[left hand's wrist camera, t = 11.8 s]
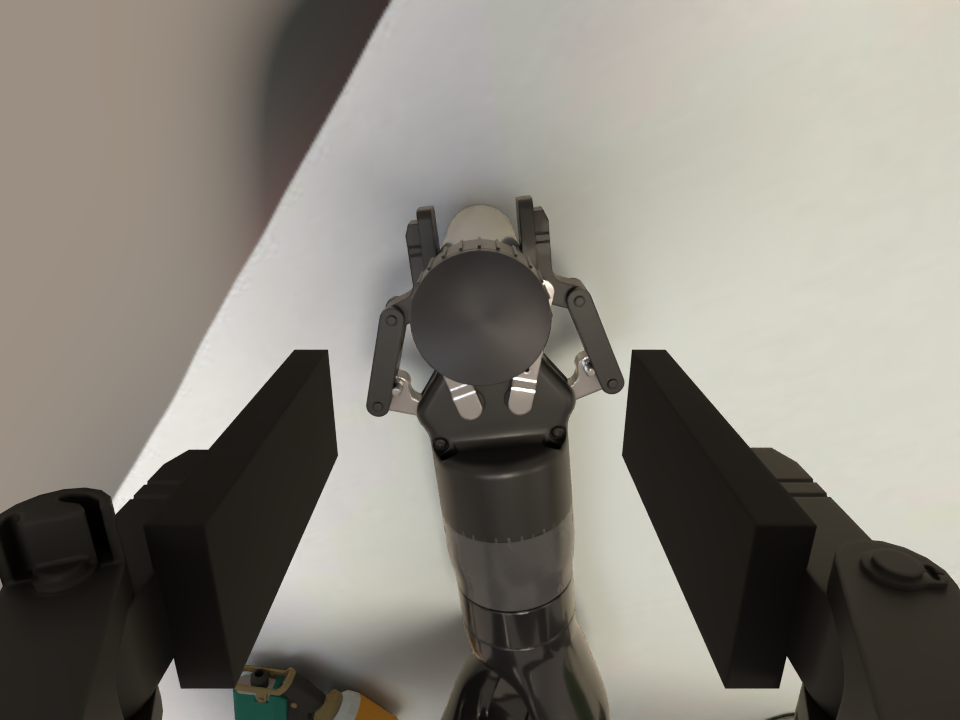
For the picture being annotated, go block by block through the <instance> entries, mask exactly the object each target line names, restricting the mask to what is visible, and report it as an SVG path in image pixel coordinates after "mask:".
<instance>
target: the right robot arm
mask: <svg viewBox="0 0 960 720" xmlns="http://www.w3.org/2000/svg"><path fill="white" fill-rule="evenodd" d="M516 211H517V223H518V234H519V246H520V250H521V252H522V254H523V255H524V256H525V257H526V256H528V257H529V258H530V261H531V263H532V265H533V266H534V268H535V269H536V270H537V269H538V270H539V271H540V274H541V276H542V278H543V281H544V282H543V285H545V286H546V288H547V291H548V293H549V295H550V300H549V302H550V308H551V305H556V306H560V307H564V308H568V310H569V313H570V315H571V318H572V320H573V322H574V325H575V327H576V330H577V332H578V335H579V337H580V340H581V342H582V344H583V347H584V349H585V350H584V351H582V352H580V353H579V354H578V355H577V356H576V357H575V361H574V363H575V372H574V374H573V376H571V377H570V378H568V379H567V378H566V377H565V375H564V374H563V373H562V372H561V371H560V370H559V369H558V368H557V367H556V366H555V365H554V364H553V363H552V361H551V360H550V359H549V358H548V357H547V356H546V355H545V354H544V353H543V351H542V353H541V354H540V356H539V357H538V359H537V360H536V361H535V362H534V363H533V364H532V365H531V366H530V367H529V368H528V369H527V370H526V371H524V372H523V373H522V374H520V375H518V376H517V377H515V378H513V379H511V380H509V381H506V382H503V383H500V384H495V385H490V386H472V385H466V384H462V383H458V382H455V381H453V380H451V379H448V378H446V377H445V376H443V375H441V374H440V373H438V372H437V371H436V370H435V371H434V373H433V374H432V376H431V378H430V379H429V381H428V383H427V384H426V386H425V388H424V390H423V391H422V393H418V392H416V391H415V390H414V389H413V388H412V386H411V377H410V375H409V374H408V373H407V372H406V371H404V370H399V366H400V360H401V355H402V349H403V343H404V337H405V331H406V325H407V324H409V323H410V320H409V316H410V311H411V304H412V302H410V301H411V298H412V295H413V293H414V291H415V288H416V287H418V285H416V284H417V281H418V279H419V277H420V274H421V272H422V271H423V272H424V271H425V270H426V268H427V267H428V265H429V262H430V260H431V258H432V257H433V258H435V257H436V256H437V255H438V254H439V253H440V247H439V239H438V232H437V225H436V217H435V210H434V206H427V207H419V208H418V210H417V220H413V221H411V222H410V223H409V224H408V227H407V232H406V242H407V248H408V255H409V262H410V268H411V275H412V281H413V288H412V290H410V291H409V292H407V293H405V294H403V295H401V296H395V297H392V298H391V299H390V300H389V301H388V302H387V304H386V308H385V309H384V310H383V311H382V313H381V315H380V319H379V326H378V332H377V339H376V345H375V352H374V358H373V365H372V371H371V378H370V384H369V391H368V397H367V404H366V407H367V410H368V412H369V413H370V414H371V415H373V416H377V417H381V416H384V415H385V414H387V412H388V411H389V410H390V411H396V412H401V413H406V414H412V415H417V417H418V420H419V422H420V423H421V425H422V426H423V427H424V428H425V429H426V431H427V432H428V434H429V437H430V440H431V445H432V451H433V457H434V464H435V470H436V477H437V483H438V490H439V496H440V502H441V509H442V515H443V522H444V528H445V534H446V541H447V547H448V552H449V556H450V559H451V562H452V565H453V568H454V571H455V574H456V579H457V584H458V591H459V597H460V604H461V611H462V618H463V624H464V629H465V634H466V637H467V640H468V643H469V645H470V647H471V649H472V651H473V654H472V655H471V656H470V657H469V658H468V659H467V660H466V662H465V663H464V665H463V666H462V668H461V670H460V672H459V674H458V677H457V679H456V681H455V684H454V686H453V689H452V692H451V694H450V697H449V700H448V702H447V705H446V707H445V710H444V712H443V715H442V717H441V720H610V712H609V705H608V699H607V695H606V691H605V687H604V684H603V681H602V678H601V675H600V673H599V670H598V668H597V666H596V663H595V661H594V658H593V656H592V654H591V651H590V649H589V646H588V644H587V641H586V639H585V636H584V633H583V631H582V629H581V627H580V624H579V622H578V620H577V618H576V615H575V600H574V585H573V571H572V561H573V552H574V520H573V506H572V489H571V474H570V458H569V443H568V420H569V417H570V415H571V413H572V411H573V409H574V407H575V402H576V399H579V398H581V397H584V396H586V395H589V394H591V393H594V392H596V391H599V390H601V389H602V390H603V391H604V392H606V393H608V394H616V393H618V392H619V391H621V390H622V388H623V386H624V379H623V376H622V373H621V371H620V368H619V366H618V363H617V361H616V358H615V356H614V353H613V351H612V348H611V346H610V343H609V341H608V338H607V335H606V333H605V330H604V328H603V325H602V323H601V320H600V318H599V315H598V313H597V310H596V308H595V305H594V302H593V300H592V297H591V295H590V293H589V292H588V291H587V289H586V288H585V286H584V285H583V283H582V282H581V281H580V280H579V279H576V278H570V279H569V278H565V277H561V276H558V275H556V274H554V273H553V272H552V265H551V251H550V236H549V221H548V218H547V216H546V214H545V212H544V210H543V209H542V208H541V207H533V201H532V198H531V196H530V195H528V196H519V197H516ZM543 350H544V349H543ZM793 719H794V716H787V717H783V718H779V719H776V720H793Z"/></svg>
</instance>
